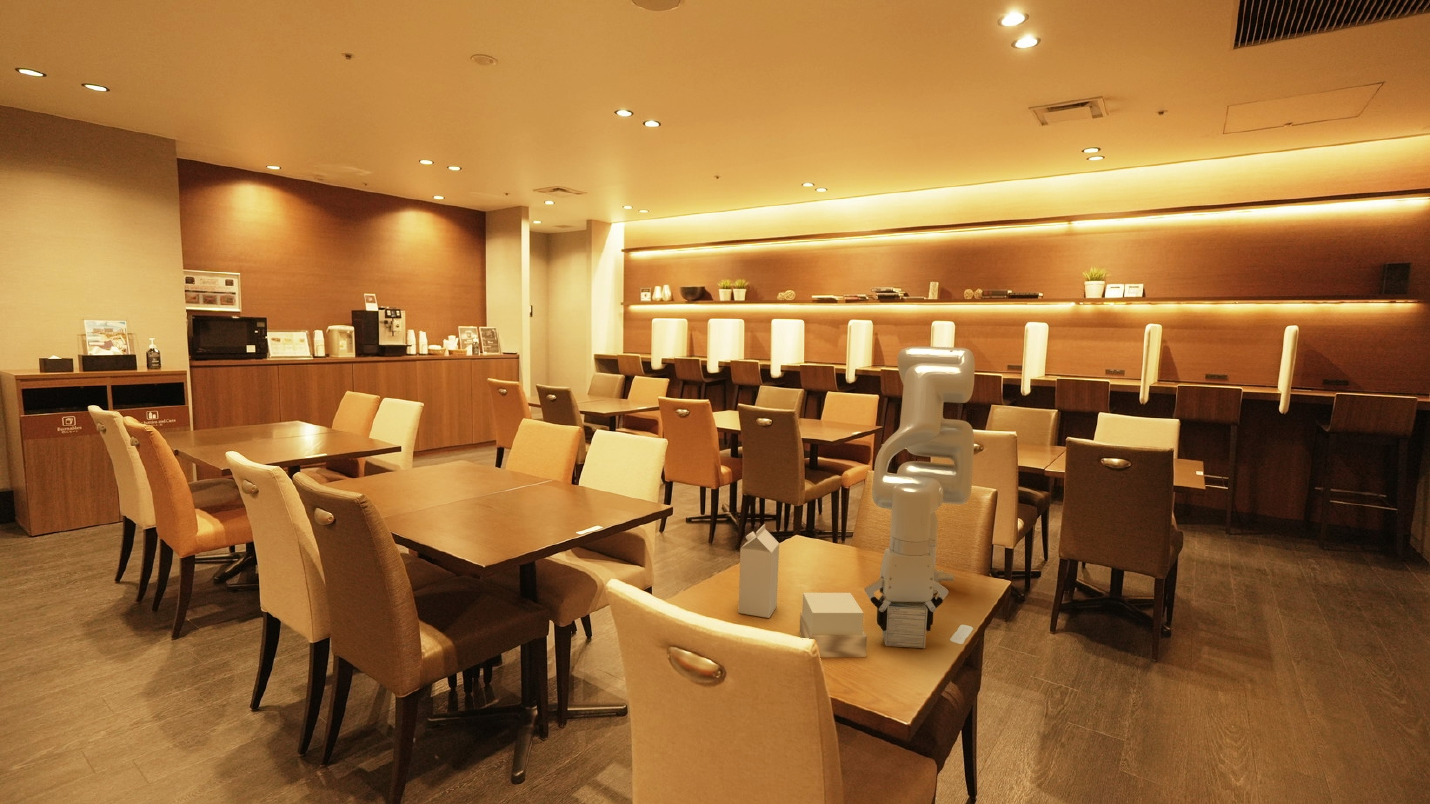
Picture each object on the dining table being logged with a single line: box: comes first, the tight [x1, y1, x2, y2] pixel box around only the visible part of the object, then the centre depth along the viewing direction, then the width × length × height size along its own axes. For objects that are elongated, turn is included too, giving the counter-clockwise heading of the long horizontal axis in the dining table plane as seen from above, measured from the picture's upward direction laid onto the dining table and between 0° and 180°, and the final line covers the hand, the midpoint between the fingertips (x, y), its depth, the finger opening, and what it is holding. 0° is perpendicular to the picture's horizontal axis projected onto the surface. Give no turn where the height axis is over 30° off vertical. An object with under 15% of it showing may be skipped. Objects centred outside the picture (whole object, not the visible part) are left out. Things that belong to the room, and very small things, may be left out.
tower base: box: [799, 612, 868, 658], centre depth 135 cm, size 11×11×4 cm
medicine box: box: [882, 602, 928, 649], centre depth 136 cm, size 8×4×9 cm, turn 84°
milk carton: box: [737, 523, 780, 619], centre depth 150 cm, size 7×7×19 cm
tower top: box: [801, 592, 865, 635], centre depth 135 cm, size 10×10×4 cm
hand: (904, 627), depth 136 cm, fingers closed on medicine box, 8 cm apart
